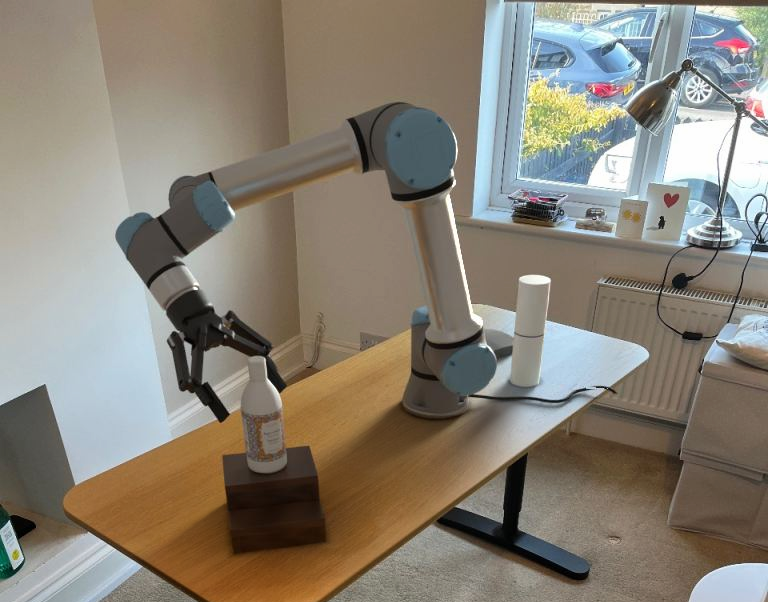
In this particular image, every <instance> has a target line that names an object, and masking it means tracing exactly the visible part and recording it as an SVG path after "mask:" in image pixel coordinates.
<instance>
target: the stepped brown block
mask: <svg viewBox="0 0 768 602" xmlns="http://www.w3.org/2000/svg"><path fill="white" fill-rule="evenodd" d="M286 455H287V463H286V465H285V467H284V468H282V469H281V470H279V471H277V472H273V473H257V472H255V471H253V470H251V469H250V468H249V466H248V462H247V455H246V452H239V453H238V452H237V453H230V454H228V453H227V454H222V455H221V458H222V460H221V461H222V469H223V470H222V471H223V482H224V490H225V497H226V504H227V511H228V522H229V533H230V539H231V547H232V553H233V555H235V554H242V553H243V554H244V553H251V552H252V553H253V552H258V551H259V552H260V551H266V550H273V549H281V548H287V547H295V546H304V545H311V544H319V543H326V542H327V534H326V519H325V515H324V511H323V507H322V503H321V500H320V499H321V498H320V485H319V474H318V471H317V467H316V464H315V460H314V457H313V453H312V449H311V446H310V445H301V446H292V447H286Z"/></svg>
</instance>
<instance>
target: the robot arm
mask: <svg viewBox="0 0 768 602" xmlns="http://www.w3.org/2000/svg"><path fill="white" fill-rule="evenodd" d="M457 144H458V143H457V138H456V136H455V133H454V131H453V129H452V128H451V126H450V124H449V123H448V122H447V121H446V120H445V119H444V118H443V117H441V115H439V114H438V113H437V112H435V111H434V110H432V109H429V108H426V107H421V106H416V105H414V104H412V103H408V102H405V101H393V102H389V103H385V104H383V105H380V106H378V107H374V108H372V109H370V110H367V111H364V112H361V113H360V114H357V115H354V116H352V117H349V118H345V119H343V120H342V122H341V124H340V126H339V127H338V128H335V129H332V130H330V131H326V132H323V133H320V134H318V135H317V134H316V135H315V136H311V137H308V138H306V139H302V140H299V141H297V142H293V143H291V144H288V145H284V146H282V147H278V148H276V149H273V150H269V151H267V152H264V153H260V154H258V155H254V156H252V157H249V158H246V159H243V160H240V161H237V162H234V163H231V164H228V165H225V166H222V167H220V168H219V167H218V168H215V169H213V170H210V171H208V172H204V173H201V174H198V175H195V176H193V175H181V176H179V177H177V178H175V180H174V181H172V183H171V185H170V188H169V190H168V191H169V192H168V198H167V199H168V205H169V208H168V209H166V210H165V211H163V212H162V213H161V214H160V215H158V216H156V217H154V216H152V215H151V214H150V213H148V212H144V211H140V212H136V213H134V214H133V215H131V216H130V215H129V216H127V217H126V218H125V219H123V221H121V223H119V225H118V226H117V228H116V230H115V234H114V235H115V236H114V238H115V241H116V243H117V245H118V246H119V248H120V249H121V251H122V253H123V255H124V256H125V259H126V261H128V262H129V264H130V265H131V267H132V268H133V269H134V271H135V272H136V274H137V275H138V277H139V278H140V279H141V280H142V282H143V283H144V285H145V287H146V288H147V289H148V291H149V292H150V294H151V295H152V297H153V298H154V299H155V301H156V302H157V304H158V305H159V306H160V308H161V309H162V311H165V316H166V317H167V319H168V321H169V322H170V323H171V324H172V326H173V328H174V329H175V330H172V331H171V332H170V334H169V336H168V337H167V338H166V343H167V345H168V347H169V348H170V351H171V353H172V354H171V355H172V358H173V365H174V369H175V375H176V381H177V386H178V389H179V391H180V392H183V393H184V392H186V391H188V393H189V394H195V396H196V397H197V398H198V399H199V401H200V403H201V404H202V405H203V406H204V407H208V408H209V409H210V411H211V413H212V414H213V415H214V417H215V418H216V419H217V421H218V422H219V424H221V423H223V422H224V423H225V421H226V420H227V419H228V418H229V416H230V415H231V413H230V412H229V411H228V409H227V408H226V406H225V404H224V403H223V402H222V400H221V399H220V397H219V396H218V395H217V393H216V391H214V389H213V387H212V386H211V384H210V383H209V382H208V381H205V382H203V373H204V357H205V353H206V352H208V351H210V350H211V349H216V348H219V347H220V346H223V347H229V348H231V349H233V350H235V351H237V352H239V353H241V354H243V355H245V356H247V357H249V358H250V357H253V356H262V357H264V358H265V360H266V370H267V379H268V380H269V381H270V382H271V383H272V384H273V386H274V387H275V388H276V390H277V391H278V393H279V395H280V394H281V393H282V392H283V391H285V390H286V388H287V387H288V385H287V384H286V382H285V380H284V379H283V377H282V376H281V375H280V374H279V372H278V371H279V368H278V366H277V365H276V363H275V362H274V360H273V359H272V357H271V355H270V353H271V351H273V349H274V346H275V345H274V343H272V342H271V341H270V340H268V339H267V338H265V337H264V336H263V335H261V334H260V333H259V332H257V331H256V330H255V329H253V328H252V327H250V326H249V325H248V324H247V323H245V322H244V321H243V320H241V319H240V318H239V316H238V315H237V314H236V313H235V312H234V311H233V310H231V309H230V310H228V311H227V312H226V313H225V314H224V315H222V316H220V315H218V314H217V313H216V311H215V307H214V305H213V303H212V301H211V300H210V299H209V297H208V295H207V294H206V293H205V291H204V290H202V289H201V285H200V284H199V282H198V281H197V279H196V278H195V276H194V275H193V273H191V271H190V269H189V268H188V267H187V265H186V264H185V263H184V261H183V259H184V258H185V257H187V256H188V255H190V254H191V253H192V252H194V251H195V250H197V249H198V248H200V247H201V246H203V245H204V244H205V243H206V242H208V241H209V240H211V239H212V238H214V237H215V236H216V235H218V234H219V233H222V232H223V231H224V230H225V228H227V227H228V226H229V225H230V224H231V223H233V222H234V221H235V218H236V213H235V211H238V210H241V209H243V208H247V207H250V206H253V205H256V204H259V203H261V202H264V201H268V200H271V199H274V198H276V197H279V196H282V195H286V194H289V193H291V192H295V191H298V190H300V189H303V188H306V187H310V186H312V185H315V184H318V183H322V182H324V181H327V180H330V179H333V178H336V177H338V176H339V177H340V176H342V175H345V174H348V173H350V172H353V173H355V174H356V175H359V176H360V175H363V174H366V173H370V172H374V171H375V172H376V171H385V176H386V179H387V184H388V187H389V191H390V196H391V199H392V201H393V202H394V203H395V204H397V205H398V206H401V208H402V210H403V214H404V219H405V223H406V227H407V231H408V235H409V239H410V243H411V247H412V251H413V256H414V261H415V264H416V268H417V273H418V277H419V281H420V286H421V291H422V293H423V294H422V295H423V298H424V302H425V305H424V306H421V307H418V308H416V309H415V310H414V311H413V312H412V314H411V322H410V327H411V328H410V329H411V331H410V332H411V333H410V375H409V377H408V380H407V383H406V386H405V389H404V392H403V394H402V408H403V409H404V410H405V411H406V412H407V413H408V414H410V415H413V416H415V417H418V418H422V419H429V420H446V419H451V418H456V417H458V416H461V415H463V414H464V413H466V411H467V410H468V409H469V401H470V398H474V399H475V398H476V399H484V400H493V401H520V400H525V401H536V402H541V403H547V404H559V403H560V404H561V403H565V402H567V401H568V400H570V399H571V398H572V397H573V396H574V395H576V394H578V393H581V392H582V393H583V392H586V391H593V390H594V389H586V387H582V388H577V389H574V390H572V391H570V393H569V394H568V395H567V396H565V397H564V398H559V399H549V398H548V399H547V398H542V397H537V396H527V395H526V396H491V395H485V394H477V393H479V392H481V391H482V390H484V389H485V388H486V387H488V385H489V384H490V382H491V381H492V379H494V377H495V375H496V372H497V368H498V361H497V360H498V359H497V357H496V356H495V354H494V353H493V350H492V349H491V348H490V347H489V346H487V343H486V339H485V334H484V329H485V328H484V324H483V320H482V318H481V317H480V316H478V315H476V314H475V313H473V307H472V304H471V299H470V293H469V288H468V282H467V278H466V273H465V266H464V263H463V258H462V253H461V248H460V242H459V237H458V233H457V228H456V222H455V217H454V211H453V207H452V202H451V198H450V193H451V191H452V190H453V188H454V187H455V185H456V178H455V173H454V172H455V171H454V167H455V165H456V162H457V157H458V145H457ZM185 343H187V344H188V345H190V349H191V350H190V357H191V362H190V368H189V362H188V358H187V352H186V347H185ZM591 387H596V388H604V389H603V390H606V391H609V392H611V393H612V394H614V395H618V392H617V391H616V390H615V389H614V388H612V387H610V386H606V385H593V386H591ZM607 388H608V389H607Z"/></svg>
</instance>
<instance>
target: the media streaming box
mask: <svg viewBox="0 0 768 602" xmlns="http://www.w3.org/2000/svg"><path fill="white" fill-rule="evenodd" d="M483 329H484V334H485V339H486V343H487V346H489V347H490V348H491V349H492V350H493V353H494V354H495V356H496V358H499V357H504V356H506V355H509V354H512V352H513V341H514V336H512V335H510V334H509V333H507V332H504V331H502V330H498V329H492V328H483Z"/></svg>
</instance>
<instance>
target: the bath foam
mask: <svg viewBox="0 0 768 602" xmlns="http://www.w3.org/2000/svg"><path fill="white" fill-rule="evenodd" d="M247 369H248V370H247V371H248V379H249V381H248V382H247V384H246V385H245V387H244V389H243V391H242V394H241V397H240V398H241V399H240V413H241V421H242V431H243V438H244V445H245V447H244V448H245V453H246V455H247V462H248V466H249V468H250V469H251V470H253V471H255V472H257V473H273V472H277V471H279V470H281V469H282V468H284V467H285V465H286V463H287V455H286V448H287V444H286V443H287V442H286V434H285V423H284V421H285V420H284V410H283V403H282V402H283V401H282V399H281V396H280V394H279V393H278V391H277V390H276V388H275V387H274V386H273V384H272V383H271V382H270V381H269V380H268V379H267V370H266V360H265V358H264V357H262V356H253V357H249V358H248V359H247Z"/></svg>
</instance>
